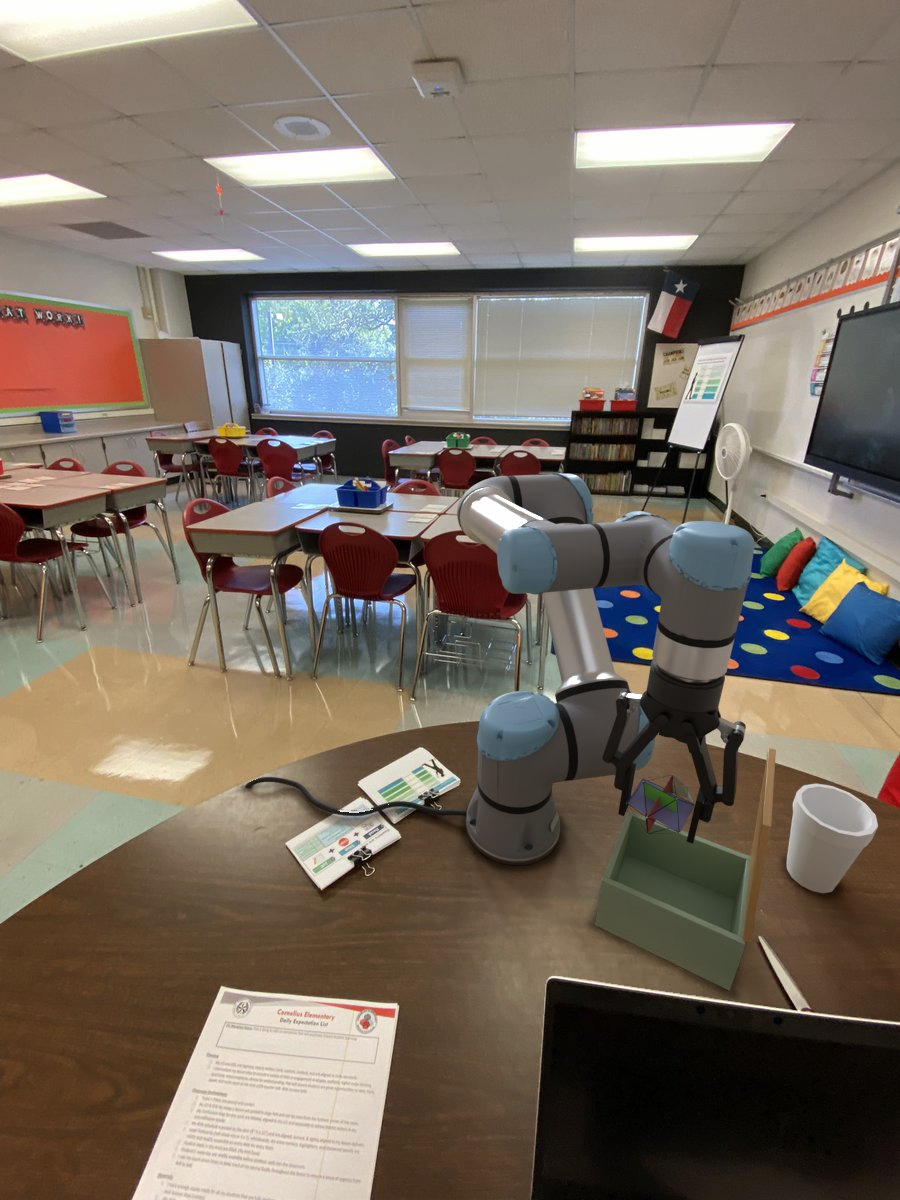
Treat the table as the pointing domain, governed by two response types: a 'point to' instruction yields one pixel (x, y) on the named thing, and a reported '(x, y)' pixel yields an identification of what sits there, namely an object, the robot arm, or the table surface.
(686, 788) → the geometric puzzle
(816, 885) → the foam cup
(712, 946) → the chest
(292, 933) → the table surface
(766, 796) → the lid
